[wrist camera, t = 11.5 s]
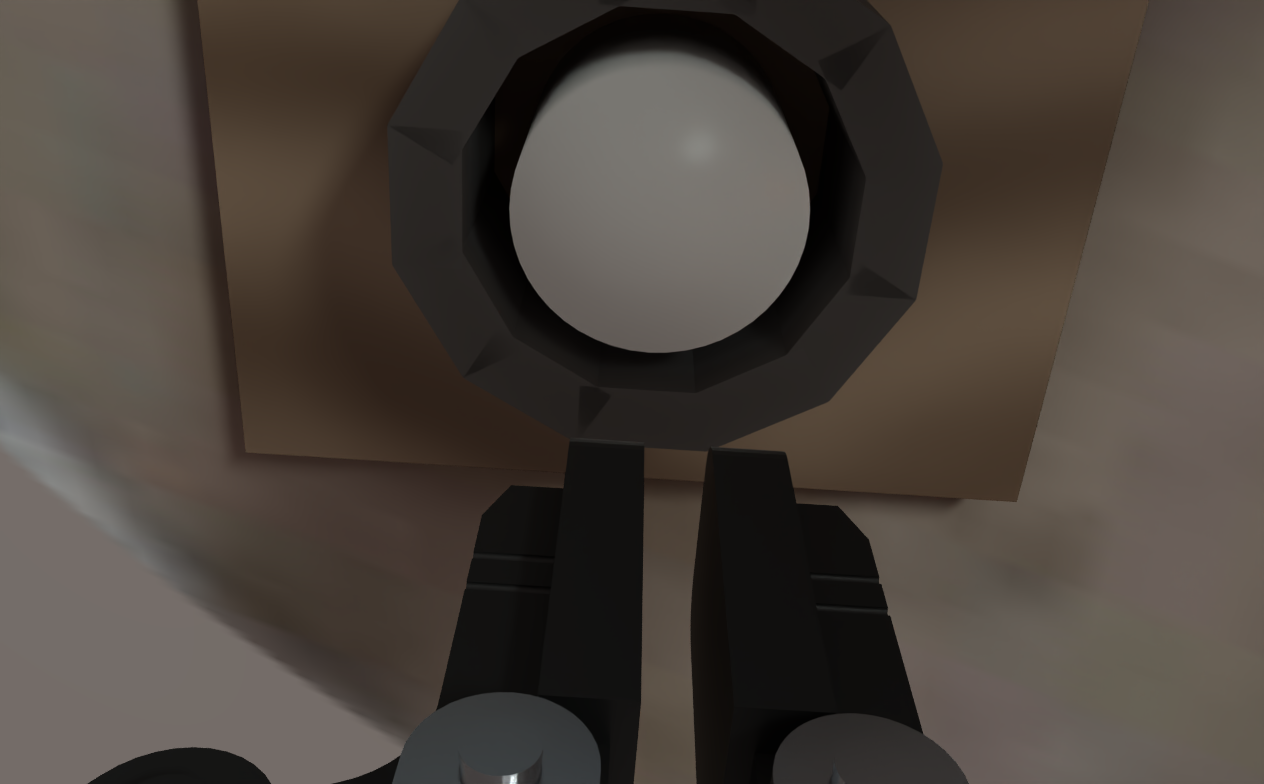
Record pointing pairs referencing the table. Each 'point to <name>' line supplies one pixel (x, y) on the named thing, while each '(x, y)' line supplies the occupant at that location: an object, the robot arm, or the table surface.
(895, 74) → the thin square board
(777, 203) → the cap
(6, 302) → the table surface
